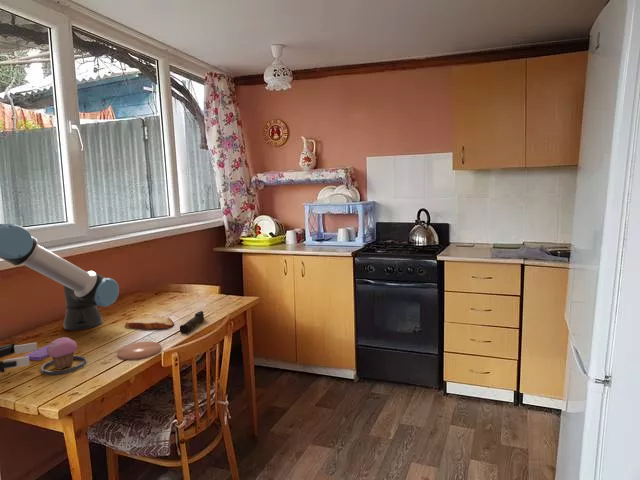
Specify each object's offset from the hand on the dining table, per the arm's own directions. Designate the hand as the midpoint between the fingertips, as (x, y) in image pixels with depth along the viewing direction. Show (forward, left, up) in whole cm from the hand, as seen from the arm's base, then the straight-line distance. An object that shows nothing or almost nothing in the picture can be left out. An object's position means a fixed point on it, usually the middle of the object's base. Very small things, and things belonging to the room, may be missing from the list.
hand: (33, 353), depth 153 cm
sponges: (-12, +13, -7) cm, 19 cm away
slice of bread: (+3, +50, -7) cm, 50 cm away
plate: (+21, +25, -6) cm, 33 cm away
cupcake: (+6, +6, -7) cm, 11 cm away
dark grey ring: (+6, +6, -6) cm, 11 cm away
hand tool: (+21, +55, -7) cm, 59 cm away
